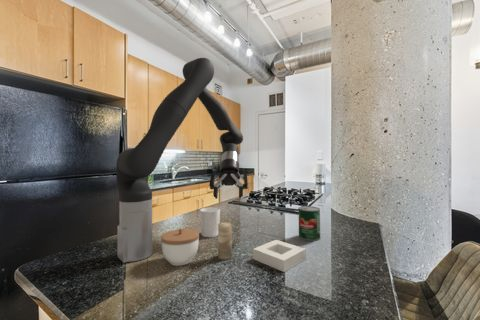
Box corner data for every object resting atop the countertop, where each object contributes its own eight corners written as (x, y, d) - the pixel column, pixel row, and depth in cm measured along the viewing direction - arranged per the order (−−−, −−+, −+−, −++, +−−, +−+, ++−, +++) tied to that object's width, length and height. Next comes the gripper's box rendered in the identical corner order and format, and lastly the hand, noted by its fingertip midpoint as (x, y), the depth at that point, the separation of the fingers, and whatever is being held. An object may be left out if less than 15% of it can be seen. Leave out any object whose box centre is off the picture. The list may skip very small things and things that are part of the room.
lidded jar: (159, 272, 59) (159, 236, 59) (162, 255, 69) (162, 225, 69) (201, 266, 61) (200, 232, 61) (197, 251, 72) (197, 222, 72)
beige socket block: (284, 272, 58) (284, 260, 58) (253, 258, 66) (253, 248, 66) (306, 259, 66) (306, 248, 66) (276, 248, 74) (275, 239, 74)
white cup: (219, 238, 84) (218, 211, 84) (198, 238, 84) (198, 211, 85) (221, 231, 92) (221, 207, 92) (202, 231, 92) (202, 207, 92)
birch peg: (224, 261, 65) (223, 226, 65) (215, 256, 68) (215, 223, 68) (234, 256, 68) (234, 223, 68) (225, 253, 70) (225, 221, 71)
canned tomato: (317, 234, 88) (317, 206, 88) (323, 241, 80) (322, 210, 80) (297, 233, 89) (296, 206, 89) (300, 240, 81) (300, 210, 81)
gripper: (211, 158, 88) (206, 191, 77) (247, 157, 88) (247, 190, 77) (213, 170, 94) (209, 203, 82) (247, 170, 93) (248, 203, 82)
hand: (228, 197), depth 79 cm, fingers open, 8 cm apart
